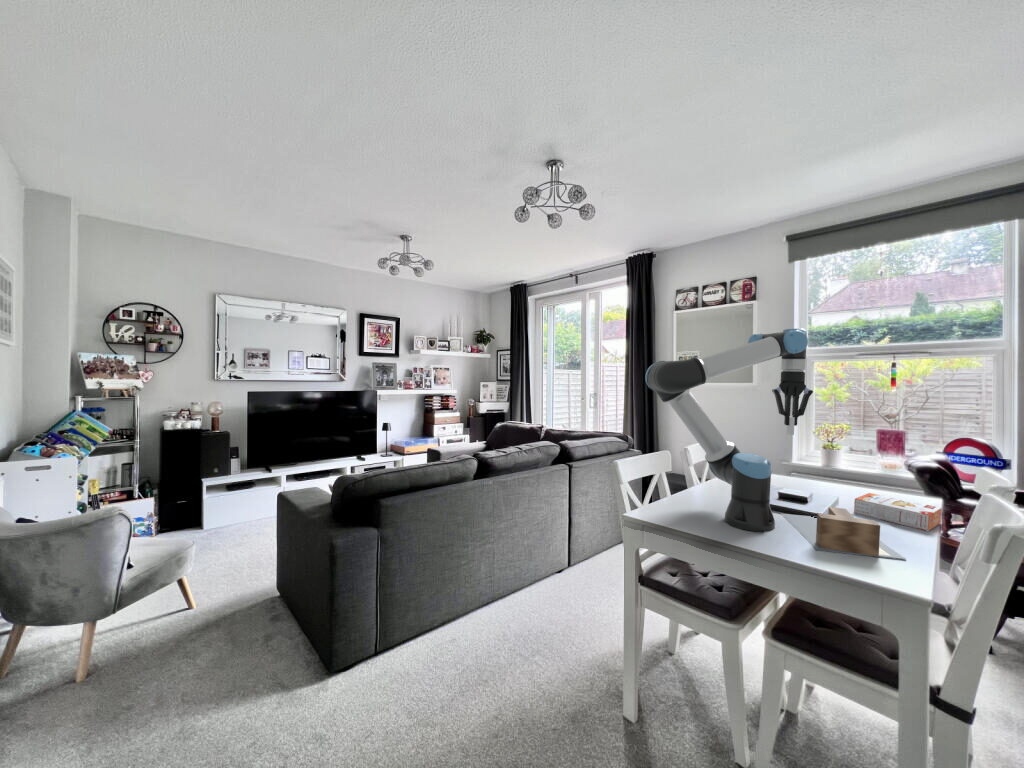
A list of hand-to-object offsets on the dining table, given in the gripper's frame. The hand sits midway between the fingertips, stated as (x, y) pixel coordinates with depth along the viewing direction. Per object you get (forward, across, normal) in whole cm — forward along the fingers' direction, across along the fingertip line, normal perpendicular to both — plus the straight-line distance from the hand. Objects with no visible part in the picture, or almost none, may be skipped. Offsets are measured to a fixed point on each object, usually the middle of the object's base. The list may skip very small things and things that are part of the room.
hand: (790, 434), depth 159 cm
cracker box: (+26, -28, -12) cm, 40 cm away
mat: (+29, -8, +20) cm, 36 cm away
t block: (+29, -6, +29) cm, 41 cm away
